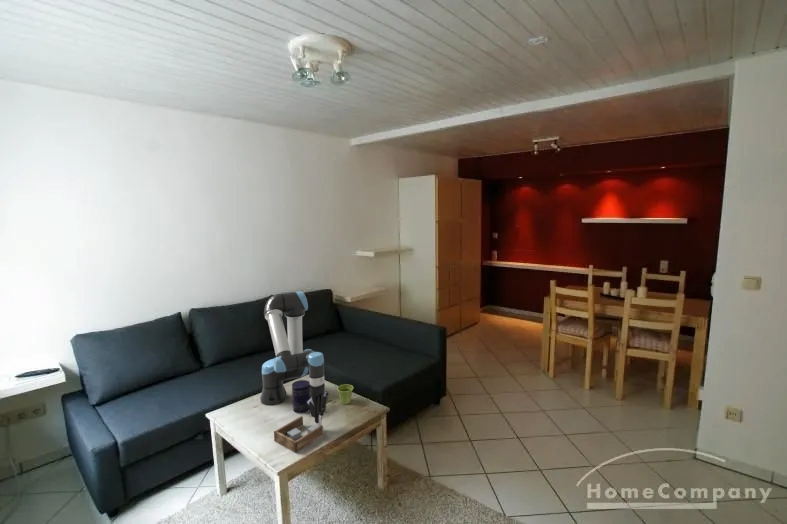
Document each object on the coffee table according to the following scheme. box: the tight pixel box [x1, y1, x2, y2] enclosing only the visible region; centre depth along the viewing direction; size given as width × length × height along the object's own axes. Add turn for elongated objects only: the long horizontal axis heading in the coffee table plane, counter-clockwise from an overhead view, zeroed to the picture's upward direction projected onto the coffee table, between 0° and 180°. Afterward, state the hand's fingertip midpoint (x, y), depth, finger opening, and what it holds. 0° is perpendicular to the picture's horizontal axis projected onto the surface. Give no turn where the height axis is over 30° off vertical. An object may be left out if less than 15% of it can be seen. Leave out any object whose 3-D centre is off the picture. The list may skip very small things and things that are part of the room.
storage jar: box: [291, 379, 311, 414], centre depth 210 cm, size 10×10×15 cm
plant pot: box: [336, 383, 354, 405], centre depth 218 cm, size 9×9×9 cm
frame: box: [273, 415, 324, 454], centre depth 183 cm, size 16×17×5 cm
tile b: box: [306, 423, 319, 434], centre depth 187 cm, size 5×5×3 cm
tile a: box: [286, 428, 302, 441], centre depth 184 cm, size 5×5×3 cm
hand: (318, 427), depth 190 cm, fingers closed
